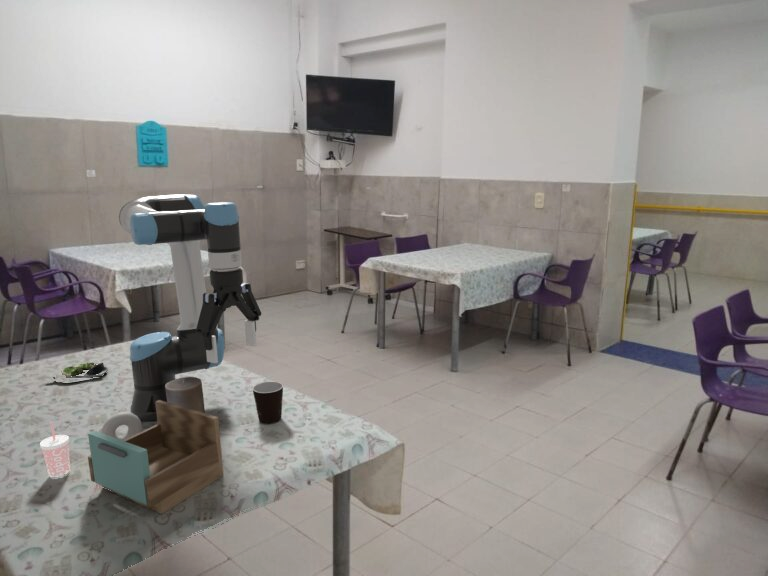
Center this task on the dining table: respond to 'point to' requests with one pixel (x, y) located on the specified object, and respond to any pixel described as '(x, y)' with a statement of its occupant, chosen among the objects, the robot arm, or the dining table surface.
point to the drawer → (177, 455)
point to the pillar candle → (186, 393)
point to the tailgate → (119, 465)
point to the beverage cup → (56, 454)
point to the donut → (122, 419)
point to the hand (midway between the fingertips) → (232, 353)
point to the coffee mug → (268, 401)
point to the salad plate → (92, 368)
